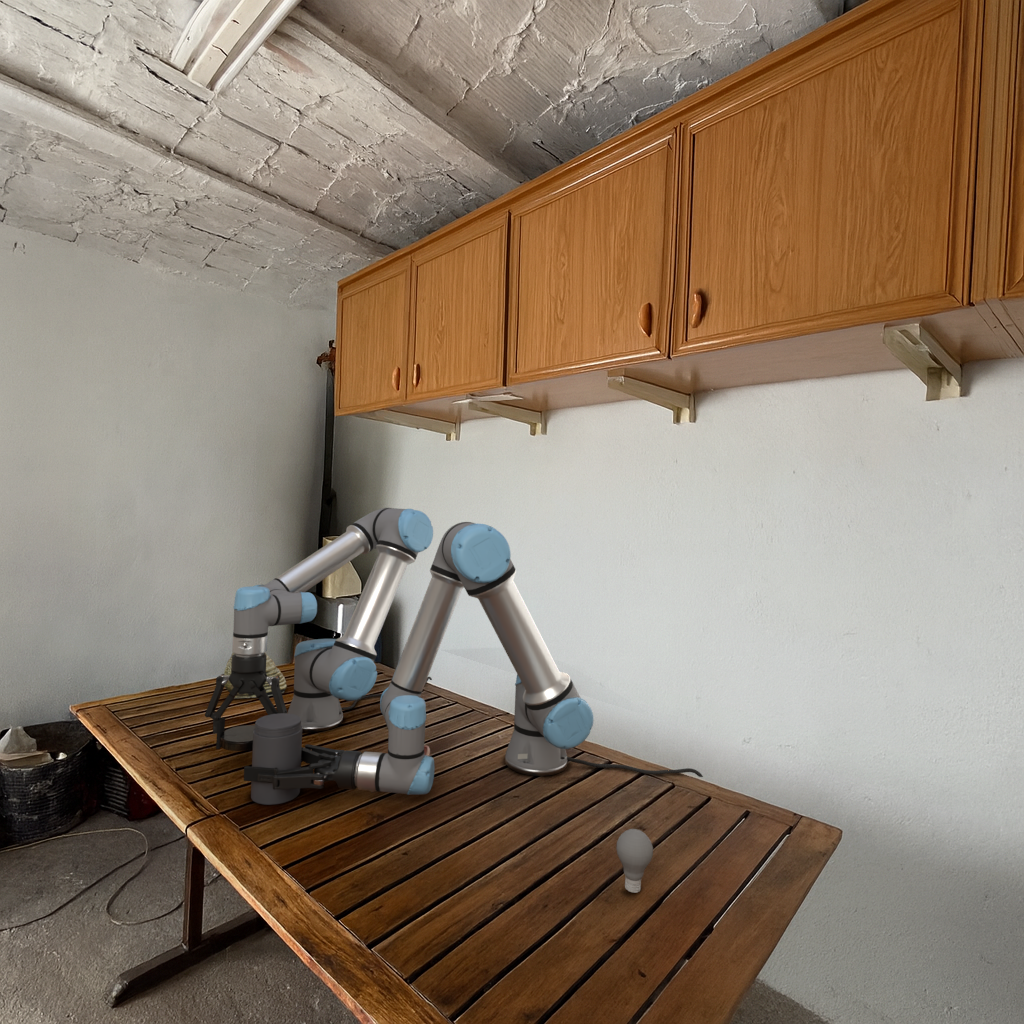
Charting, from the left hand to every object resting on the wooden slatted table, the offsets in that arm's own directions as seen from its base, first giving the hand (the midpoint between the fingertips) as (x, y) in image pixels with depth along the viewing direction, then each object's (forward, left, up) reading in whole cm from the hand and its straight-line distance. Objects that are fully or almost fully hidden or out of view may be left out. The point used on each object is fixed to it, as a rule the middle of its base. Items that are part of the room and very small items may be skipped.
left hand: (244, 747), depth 148 cm
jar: (+3, +18, -4) cm, 19 cm away
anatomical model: (-24, +27, -4) cm, 36 cm away
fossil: (-28, -45, -4) cm, 53 cm away
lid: (0, 0, +3) cm, 3 cm away
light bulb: (-19, +91, -4) cm, 93 cm away
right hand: (+5, +15, +2) cm, 16 cm away
